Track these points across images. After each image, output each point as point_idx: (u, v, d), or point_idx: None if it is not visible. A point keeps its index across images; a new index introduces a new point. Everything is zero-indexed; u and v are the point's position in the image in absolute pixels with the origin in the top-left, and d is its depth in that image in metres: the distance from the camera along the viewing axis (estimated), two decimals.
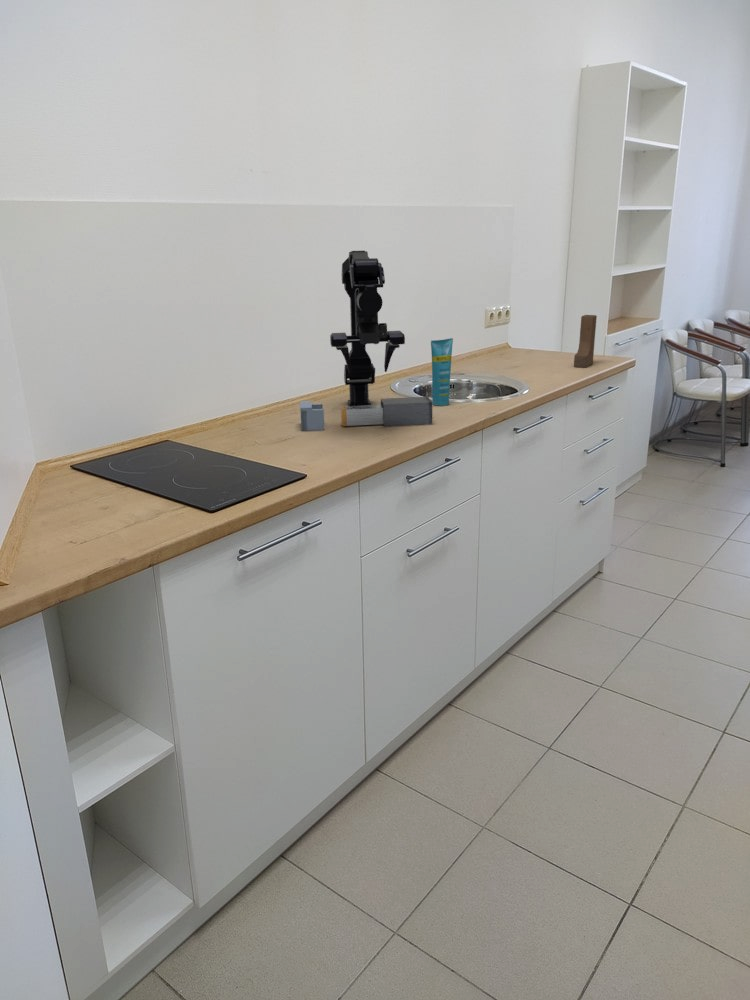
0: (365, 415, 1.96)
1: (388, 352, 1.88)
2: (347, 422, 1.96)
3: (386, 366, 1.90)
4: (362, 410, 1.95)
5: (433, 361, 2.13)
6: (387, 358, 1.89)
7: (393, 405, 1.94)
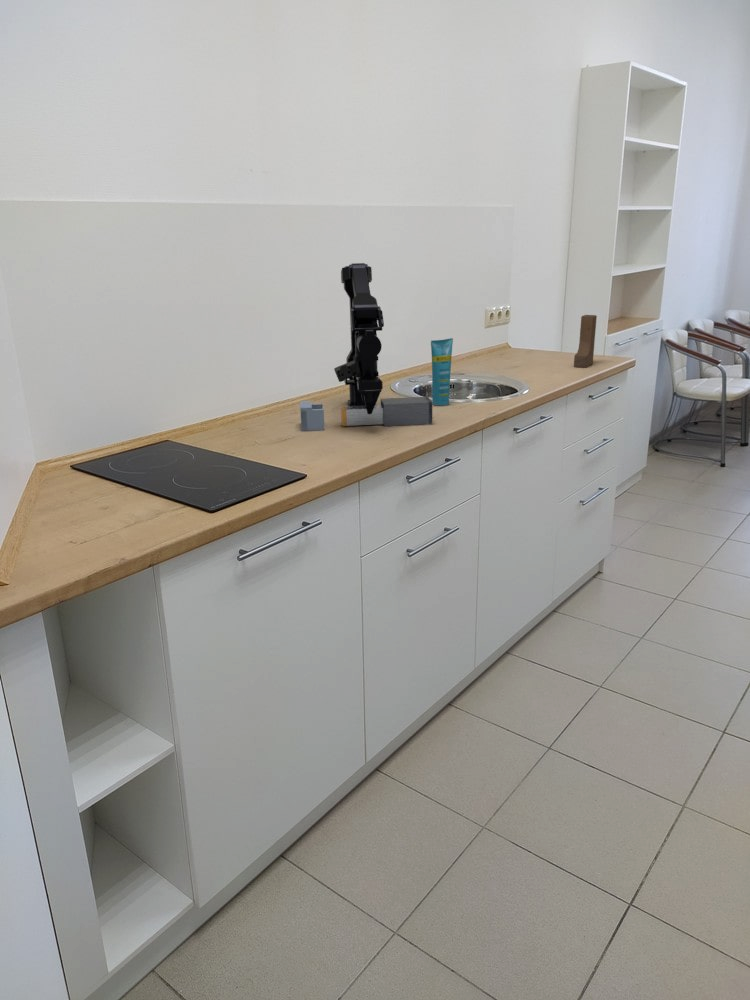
0: (365, 415, 1.96)
1: None
2: (347, 422, 1.96)
3: (366, 408, 1.93)
4: (362, 410, 1.95)
5: (433, 361, 2.13)
6: (364, 401, 1.92)
7: (393, 405, 1.94)
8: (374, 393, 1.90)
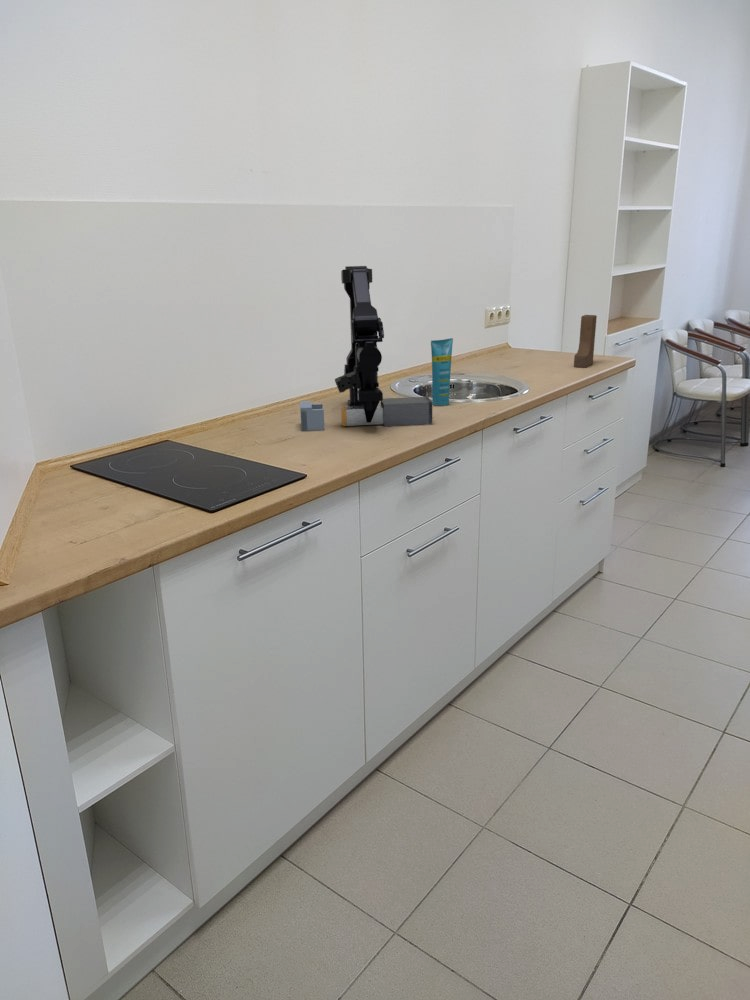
0: None
1: (362, 404, 1.94)
2: (347, 422, 1.96)
3: None
4: (362, 410, 1.95)
5: (433, 361, 2.13)
6: (364, 409, 1.95)
7: (393, 405, 1.94)
8: (373, 402, 1.93)
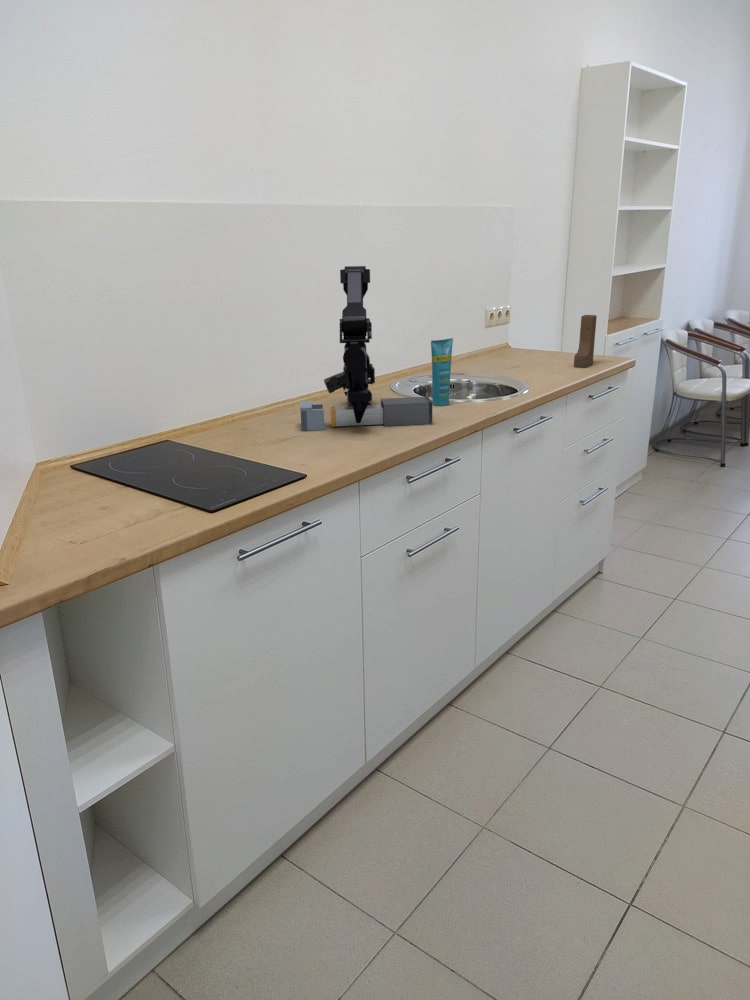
0: None
1: None
2: (337, 422, 1.96)
3: (355, 417, 1.95)
4: (351, 410, 1.95)
5: (433, 361, 2.13)
6: None
7: (393, 405, 1.94)
8: (363, 402, 1.93)
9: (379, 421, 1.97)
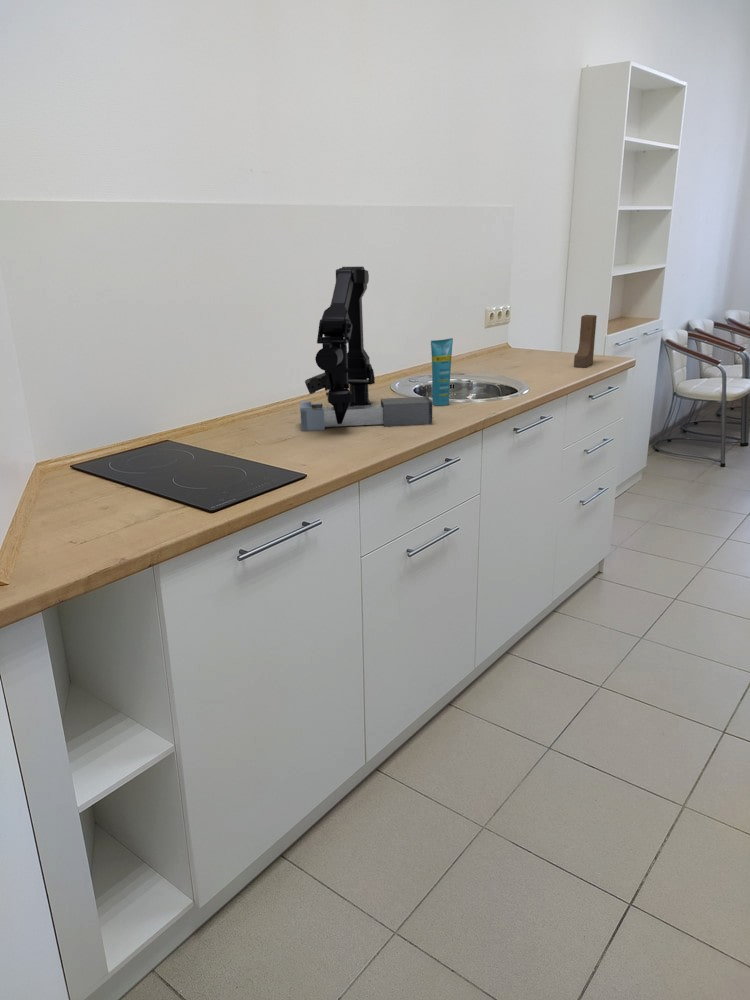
0: None
1: None
2: None
3: (336, 418, 1.95)
4: (333, 411, 1.95)
5: (433, 361, 2.13)
6: None
7: (393, 405, 1.94)
8: (343, 403, 1.92)
9: (360, 422, 1.96)
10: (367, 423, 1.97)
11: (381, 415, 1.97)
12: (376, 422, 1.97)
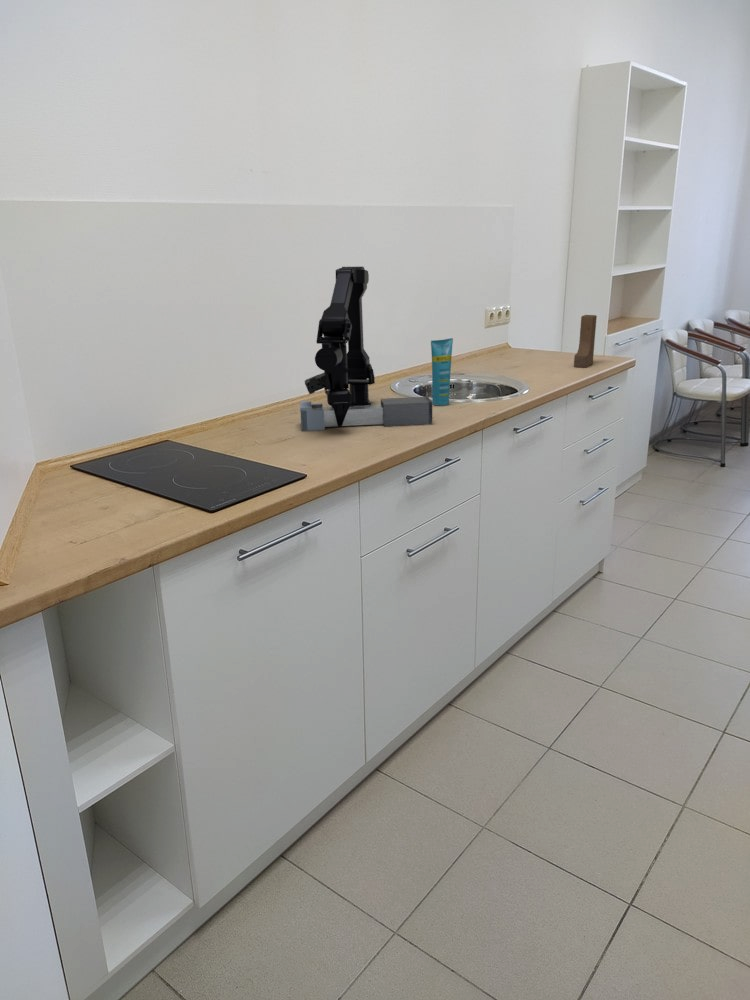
0: (335, 417, 1.95)
1: None
2: None
3: (336, 420, 1.93)
4: (332, 411, 1.95)
5: (433, 361, 2.13)
6: None
7: (393, 405, 1.94)
8: (344, 405, 1.90)
9: (359, 422, 1.96)
10: (367, 423, 1.97)
11: (381, 415, 1.97)
12: (376, 422, 1.97)
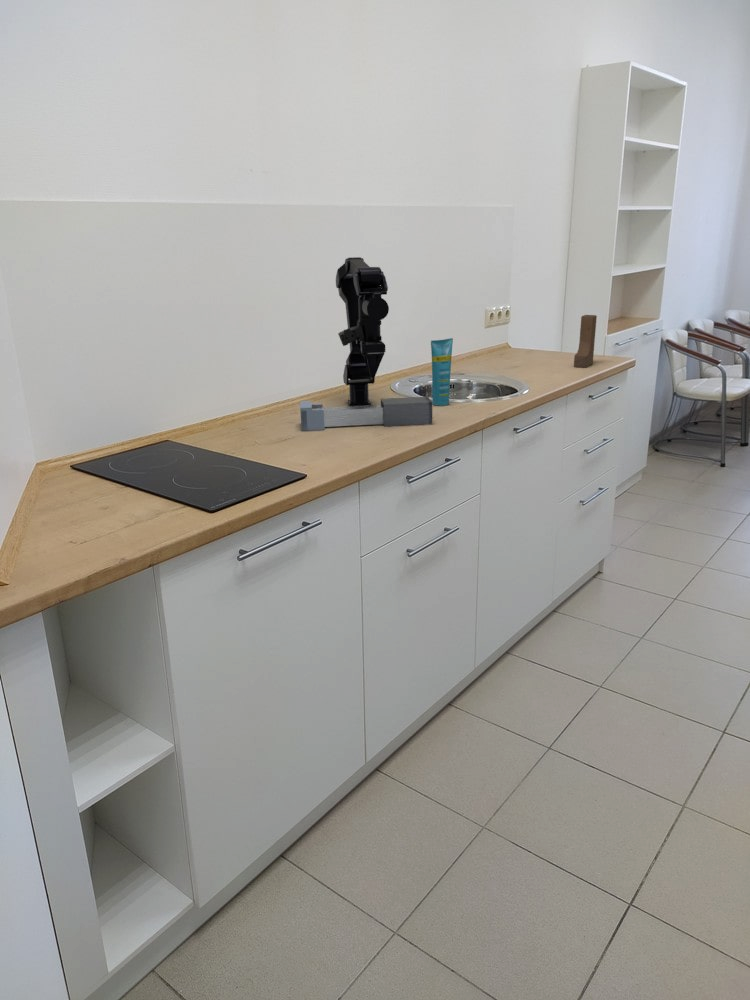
0: (335, 417, 1.95)
1: None
2: None
3: (369, 372, 1.97)
4: (332, 411, 1.95)
5: (433, 361, 2.13)
6: (368, 364, 1.96)
7: (393, 405, 1.94)
8: (377, 356, 1.95)
9: (359, 422, 1.96)
10: (367, 423, 1.97)
11: (381, 415, 1.97)
12: (376, 422, 1.97)
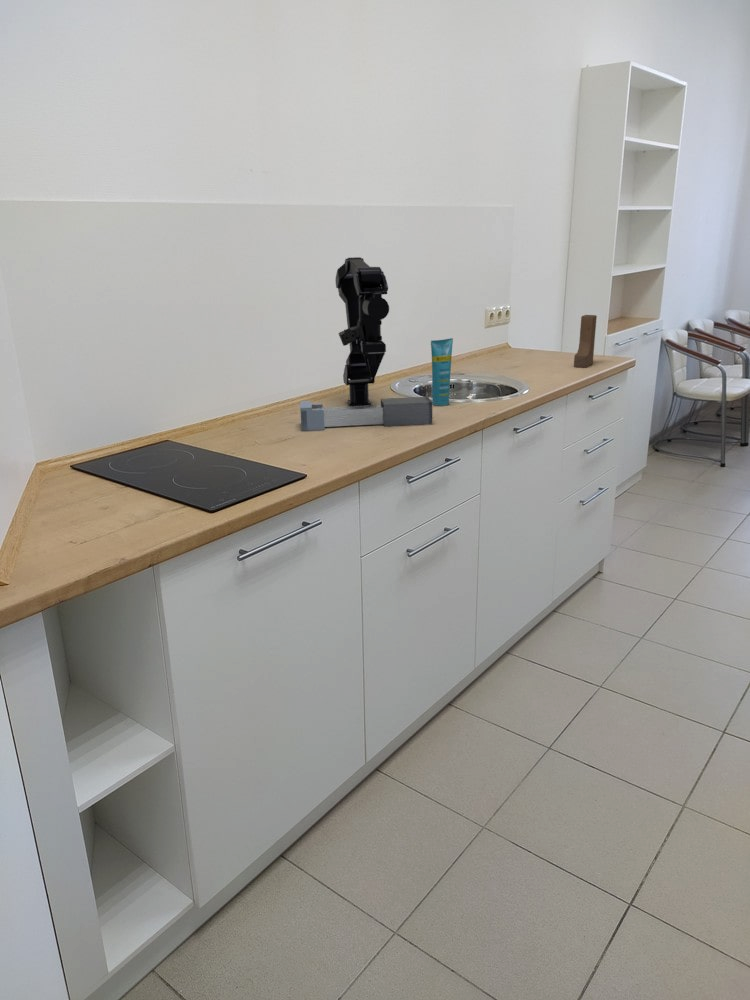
0: (335, 417, 1.95)
1: (367, 358, 1.96)
2: None
3: (370, 372, 1.97)
4: (332, 411, 1.95)
5: (433, 361, 2.13)
6: (368, 364, 1.96)
7: (393, 405, 1.94)
8: (377, 356, 1.95)
9: (359, 422, 1.96)
10: (367, 423, 1.97)
11: (381, 415, 1.97)
12: (376, 422, 1.97)
